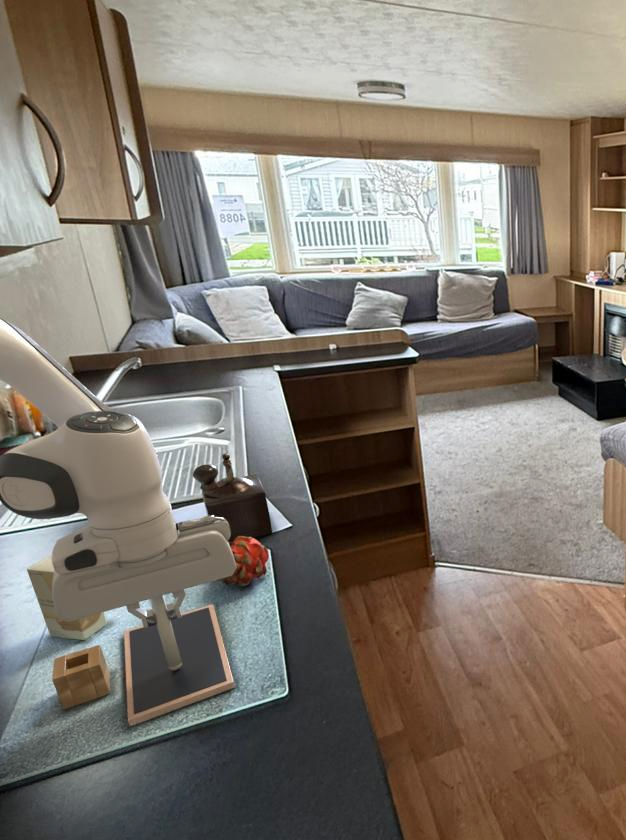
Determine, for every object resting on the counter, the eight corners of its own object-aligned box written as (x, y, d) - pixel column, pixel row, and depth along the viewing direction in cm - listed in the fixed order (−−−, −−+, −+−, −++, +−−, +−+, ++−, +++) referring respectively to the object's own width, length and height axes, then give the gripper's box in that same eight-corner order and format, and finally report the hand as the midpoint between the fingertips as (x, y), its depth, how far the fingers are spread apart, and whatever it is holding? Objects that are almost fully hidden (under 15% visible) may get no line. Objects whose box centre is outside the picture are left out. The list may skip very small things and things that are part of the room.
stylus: (170, 673, 90) (142, 574, 87) (169, 669, 91) (142, 572, 88) (183, 669, 90) (156, 571, 88) (182, 665, 92) (156, 568, 89)
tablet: (129, 726, 83) (127, 720, 82) (125, 636, 99) (123, 630, 99) (235, 687, 89) (233, 681, 89) (214, 608, 106) (212, 603, 105)
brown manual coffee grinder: (206, 527, 131) (184, 444, 124) (266, 513, 137) (248, 433, 130) (214, 561, 119) (190, 472, 112) (279, 544, 125) (261, 458, 118)
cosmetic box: (49, 637, 99) (22, 568, 94) (74, 620, 103) (49, 553, 98) (86, 641, 98) (61, 572, 94) (110, 623, 102) (87, 556, 98)
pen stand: (63, 709, 85) (51, 679, 83) (65, 687, 89) (54, 658, 87) (110, 693, 88) (99, 664, 86) (110, 673, 92) (99, 644, 90)
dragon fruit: (240, 608, 108) (245, 580, 119) (280, 570, 110) (281, 547, 121) (197, 577, 105) (206, 552, 115) (238, 539, 106) (243, 517, 117)
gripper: (223, 503, 93) (242, 585, 98) (39, 545, 82) (73, 635, 87) (229, 520, 88) (249, 606, 93) (35, 567, 77) (71, 661, 82)
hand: (163, 620), depth 90 cm, fingers closed on stylus, 1 cm apart
